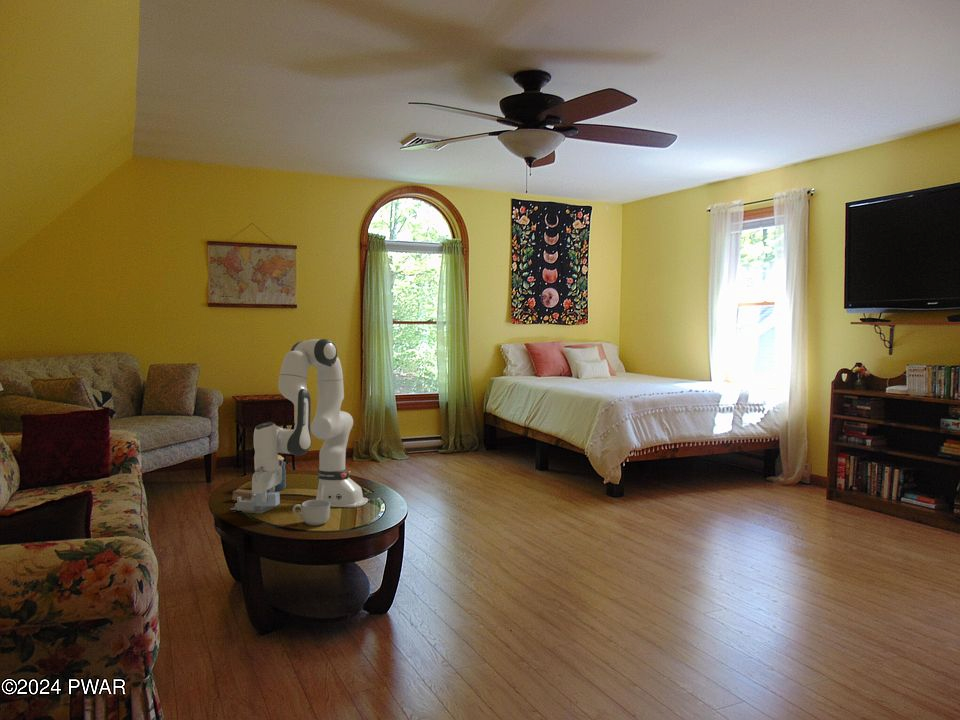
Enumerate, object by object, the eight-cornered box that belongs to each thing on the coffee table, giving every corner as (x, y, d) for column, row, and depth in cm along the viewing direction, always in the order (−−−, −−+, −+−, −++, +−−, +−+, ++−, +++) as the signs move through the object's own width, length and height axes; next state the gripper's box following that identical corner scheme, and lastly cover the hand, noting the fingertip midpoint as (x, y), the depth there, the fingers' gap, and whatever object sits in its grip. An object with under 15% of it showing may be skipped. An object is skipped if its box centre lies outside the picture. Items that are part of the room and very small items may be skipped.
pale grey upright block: (279, 503, 261) (279, 492, 261) (275, 505, 257) (275, 494, 257) (260, 503, 262) (259, 492, 262) (255, 506, 258) (255, 494, 258)
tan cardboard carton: (238, 499, 292) (238, 489, 292) (258, 501, 289) (258, 490, 289) (232, 501, 288) (232, 491, 288) (253, 503, 285) (253, 493, 285)
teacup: (332, 519, 261) (332, 499, 261) (327, 527, 251) (327, 506, 250) (296, 519, 261) (297, 499, 261) (289, 527, 250) (290, 506, 250)
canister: (252, 491, 306) (252, 453, 306) (262, 485, 319) (262, 448, 319) (280, 492, 306) (280, 454, 305) (289, 486, 319) (289, 449, 318)
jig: (276, 506, 279) (276, 492, 279) (260, 514, 268) (260, 499, 268) (246, 504, 283) (246, 490, 283) (229, 511, 271) (229, 496, 271)
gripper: (262, 469, 249) (264, 506, 249) (284, 460, 269) (285, 494, 270) (246, 470, 249) (248, 506, 250) (269, 460, 270) (270, 494, 270)
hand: (267, 500), depth 260 cm, fingers closed on pale grey upright block, 4 cm apart
